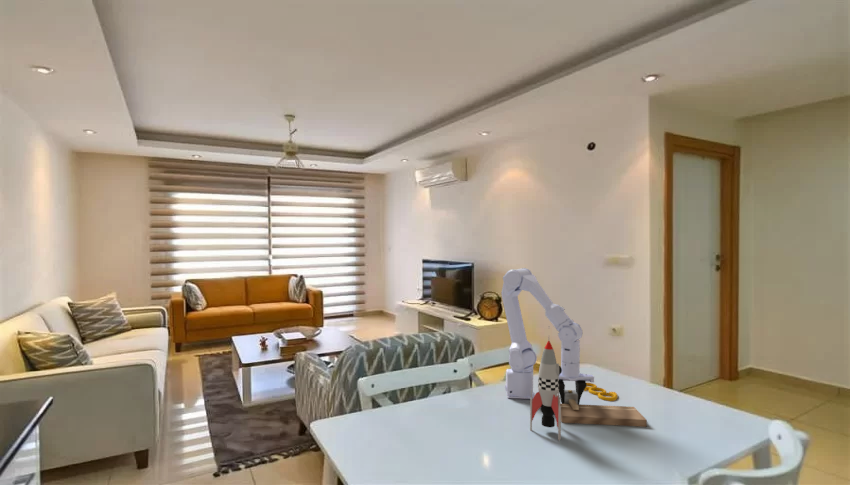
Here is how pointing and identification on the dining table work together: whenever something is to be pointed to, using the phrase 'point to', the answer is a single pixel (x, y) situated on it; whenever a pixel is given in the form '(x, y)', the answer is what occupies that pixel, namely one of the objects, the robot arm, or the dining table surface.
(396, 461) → the dining table surface
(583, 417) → the board
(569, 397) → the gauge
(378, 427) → the dining table surface
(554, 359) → the toy
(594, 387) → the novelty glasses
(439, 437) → the dining table surface
